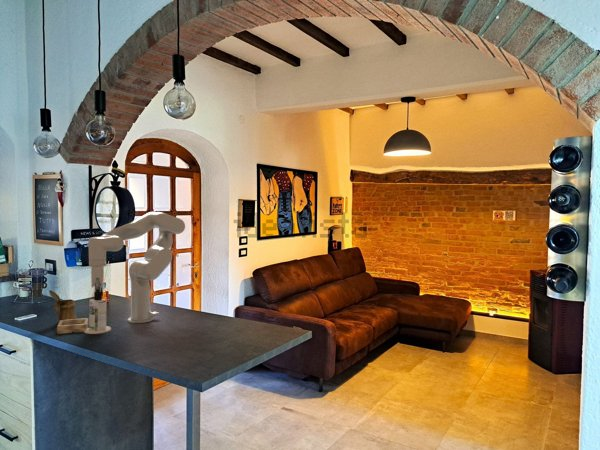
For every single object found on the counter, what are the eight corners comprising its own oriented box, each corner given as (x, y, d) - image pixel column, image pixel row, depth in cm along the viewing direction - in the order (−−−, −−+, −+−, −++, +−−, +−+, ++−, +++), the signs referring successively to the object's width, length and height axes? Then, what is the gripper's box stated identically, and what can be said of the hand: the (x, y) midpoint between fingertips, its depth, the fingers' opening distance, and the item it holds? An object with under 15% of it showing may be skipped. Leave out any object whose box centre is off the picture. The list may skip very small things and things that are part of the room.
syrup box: (88, 329, 210) (88, 299, 209) (99, 326, 215) (99, 297, 214) (95, 331, 207) (95, 301, 206) (107, 328, 212) (107, 299, 211)
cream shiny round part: (111, 326, 219) (111, 324, 218) (110, 332, 207) (110, 331, 207) (84, 328, 214) (84, 327, 214) (82, 335, 203) (82, 333, 203)
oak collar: (88, 324, 220) (88, 318, 220) (86, 331, 209) (86, 324, 209) (60, 327, 215) (60, 320, 215) (57, 333, 204) (57, 326, 204)
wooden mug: (44, 324, 219) (44, 289, 219) (70, 319, 231) (70, 285, 230) (54, 327, 215) (54, 291, 214) (80, 321, 226) (80, 287, 226)
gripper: (90, 260, 216) (91, 294, 217) (87, 265, 200) (88, 302, 201) (106, 260, 219) (107, 293, 220) (105, 264, 203) (106, 301, 204)
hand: (98, 297), depth 211 cm, fingers open, 9 cm apart
